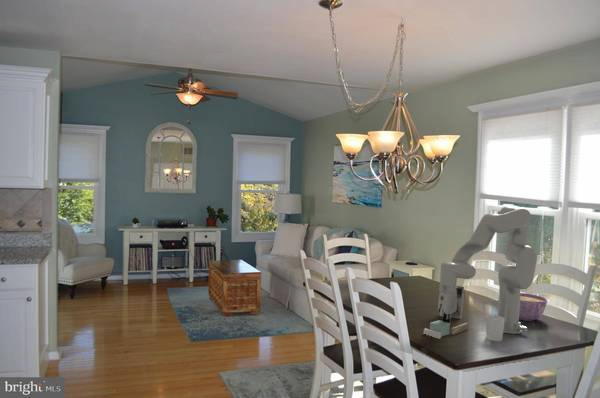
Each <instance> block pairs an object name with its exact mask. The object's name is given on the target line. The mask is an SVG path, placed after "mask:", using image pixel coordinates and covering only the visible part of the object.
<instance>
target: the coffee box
mask: <svg viewBox="0 0 600 398" xmlns="http://www.w3.org/2000/svg"><path fill="white" fill-rule="evenodd" d="M456 294H457V311H456V312H454V313H452V314H451V319H457V320H461V319H462V317H463V311H464V310H463V309H464V308H463V307H464V296H465V286H461V285H456Z"/></svg>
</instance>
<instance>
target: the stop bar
mask: <svg viewBox="0 0 600 398" xmlns="http://www.w3.org/2000/svg"><path fill="white" fill-rule="evenodd" d="M424 334H426V335H425V336H428V335H429V337H431V336H432V337H433V338H435V339H441V338H442V337H441V332H437V331H433V330H430V328H426V327H425V328H423V335H424Z"/></svg>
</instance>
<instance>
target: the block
mask: <svg viewBox="0 0 600 398" xmlns="http://www.w3.org/2000/svg"><path fill="white" fill-rule="evenodd" d="M450 326H451V323H447V322H443V321H442V320H435V321H431V322H430V323H429V329H430V330H433V331H437V332H441V338H442V337H445V336H448V335H450V333H451V329H450Z"/></svg>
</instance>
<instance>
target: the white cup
mask: <svg viewBox="0 0 600 398" xmlns="http://www.w3.org/2000/svg"><path fill="white" fill-rule="evenodd" d="M485 317H486V318H485V319H486V320H485V335H486V337H485V338H486V340H489V341H491V342H501V341H503V338H504V337H503V335H504V333H503V330H504V322H505V318H503V317H501V316H498V315H493V314H489V315H488V314H487V315H486V316H485Z"/></svg>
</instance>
